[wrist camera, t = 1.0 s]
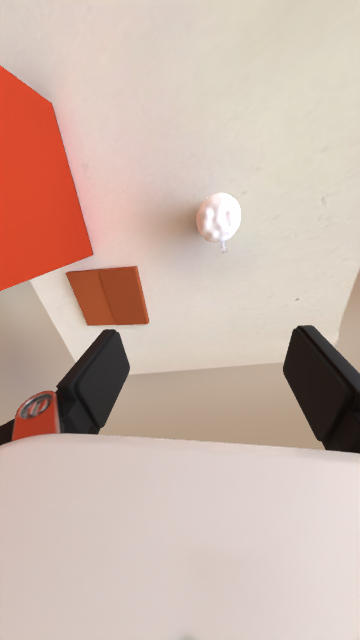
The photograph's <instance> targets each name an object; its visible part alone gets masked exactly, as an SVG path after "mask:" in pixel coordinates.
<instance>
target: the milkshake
mask: <svg viewBox="0 0 360 640" xmlns="http://www.w3.org/2000/svg"><path fill="white" fill-rule="evenodd" d="M240 218H241V213H240V207H239V204H238V202H237V201H236V199H235V198H234V197H232V196H230V195H228V194H225V193H217V194H214V195H211V196H210V197H208V198H207V199H206V200H205V201H204V202H203V203H202V204H201V206H200V208H199V210H198V212H197V218H196V221H197V227H198V231H199V233H200V234H201V235H202V237H204V238H205V239H206V240H207V241H209V242H213V243H218V242H220V245H221V249H222V252H223V253H225V252H227V249H226V246H225V243H224V241H225V240H227V239H229V238H230V237H231V236H233V234H234V233H235V232H236V230H237V228H238V226H239V223H240Z"/></svg>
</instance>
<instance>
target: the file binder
mask: <svg viewBox="0 0 360 640" xmlns="http://www.w3.org/2000/svg"><path fill="white" fill-rule="evenodd" d="M92 255H93V252H92V248H91V244H90V241H89V237H88V233H87V230H86V226H85V222H84V219H83V215H82V212H81V208H80V204H79V201H78V197H77V193H76V190H75V186H74V183H73V179H72V175H71V172H70V168H69V164H68V161H67V157H66V154H65V150H64V146H63V143H62V139H61V135H60V132H59V128H58V125H57V121H56V117H55V114H54V110H53V106H52V103H50V102H49V101H48V100H46V99H45V98H44V97H42V96H41V95H39V94H38V93H37V92H35V91H34V90H33V89H31V88H30V87H29V86H27V85H26V84H25V83H23V82H22V81H21V80H19V79H18V78H17V77H15V76H14V75H12V74H11V73H10V72H8V71H7V70H6V69H4V68H3V67H2V66H0V291H1V290H4V289H6V288H9V287H12V286H14V285H16V284H19V283H22V282H24V281H27V280H30V279H32V278H35V277H37V276H40V275H43V274H45V273H48V272H50V271H53V270H56V269H58V268H61V267H63V266H66V265H68V264H71V263H74V262H76V261H79V260H81V259H84V258H87V257H89V256H92Z"/></svg>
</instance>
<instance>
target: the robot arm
mask: <svg viewBox="0 0 360 640" xmlns="http://www.w3.org/2000/svg"><path fill="white" fill-rule="evenodd" d="M129 370H130V366H129V362H128V359H127V356H126V353H125V350H124V347H123V344H122V340H121V337H120V334H119V332H116V330H114V329H106V330H103V331H102V333H101V334H100V335H99V336H98V337H97V339H96V340H95V341H94V342H93V343H92V344H91V346H90V347H89V348H88V349H87V350H86V352H85V353H84V354H83V355H82V356H81V358H80V359H79V360H78V361H77V362H76V363H75V365H74V366H73V367H72V368H71V369H70V371H69V372H68V373H67V374H66V376H65V377H64V378H63V379H62V380H61V381H60V382H59V384H58V385H57V386H56V387H57V388H58V390H57V391H56V392H53V391H43V392H41V393H38V394H36V395H34V396H32V397H31V398H29V399H28V400H26V401H25V402H24V403H23V404H22V405H21V406H20V408H19V409H18V410H17V413H16V415H15V419H13V420H11V421H9V422H7V423H6V424H4V425H2V426H0V640H360V373H358V371H357V370H356V369H355V368H354V367H353V366H352V365H351V364H350V363H349V362H348V361H347V360H346V359H345V358H344V357H343V356H342V355H341V354H340V353H339V352H338V351H337V350H336V349H335V348H334V347H333V346H332V345H331V344H330V343H329V342H328V341H327V340H326V339H325V338H324V337H323V336H322V335H321V333H320V332H319V331H318V330H317V329H316V328H315V327H314V326H311V325H306V326H298V327H297V328H296V329H294V330H293V332H292V336H291V339H290V343H289V347H288V351H287V355H286V358H285V362H284V366H283V372H284V375H285V377H286V379H287V381H288V383H289V385H290V387H291V389H292V391H293V393H294V395H295V397H296V399H297V401H298V403H299V405H300V407H301V409H302V411H303V413H304V415H305V417H306V419H307V421H308V423H309V425H310V427H311V429H312V431H313V433H314V435H315V437H316V438H317V440H318V441H322V443H323V445H324V447H325V449H326V450H316V449H304V448H291V447H277V446H276V447H275V446H262V445H249V444H236V443H235V444H234V443H220V442H204V441H191V440H176V439H161V438H145V437H128V436H113V435H112V436H111V435H98V433H99V431H100V428H102V427H104V425H105V423H106V421H107V419H108V417H109V415H110V412H111V410H112V408H113V406H114V404H115V402H116V399H117V397H118V395H119V393H120V391H121V389H122V386H123V384H124V382H125V380H126V378H127V375H128V373H129ZM327 450H328V451H327ZM338 451H340V452H338Z"/></svg>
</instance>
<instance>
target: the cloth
mask: <svg viewBox="0 0 360 640" xmlns="http://www.w3.org/2000/svg"><path fill="white" fill-rule="evenodd" d="M66 275H67V277H68V280H69V282H70V284H71V287H72V289H73V291H74V294H75V296H76V299H77V301H78V303H79V306H80V308H81V310H82V313H83V315H84V317H85V320H86V322H87V325H88V326H89V325H132V324H148V323H149V319H148V314H147V310H146V305H145V301H144V296H143V292H142V287H141V282H140V278H139V273H138V269H137V266H135V267H123V268H110V269H98V270H86V271H73V272H67V273H66Z"/></svg>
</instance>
